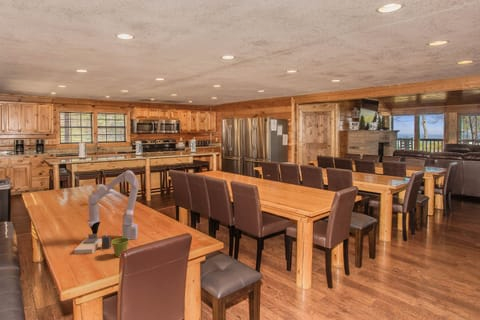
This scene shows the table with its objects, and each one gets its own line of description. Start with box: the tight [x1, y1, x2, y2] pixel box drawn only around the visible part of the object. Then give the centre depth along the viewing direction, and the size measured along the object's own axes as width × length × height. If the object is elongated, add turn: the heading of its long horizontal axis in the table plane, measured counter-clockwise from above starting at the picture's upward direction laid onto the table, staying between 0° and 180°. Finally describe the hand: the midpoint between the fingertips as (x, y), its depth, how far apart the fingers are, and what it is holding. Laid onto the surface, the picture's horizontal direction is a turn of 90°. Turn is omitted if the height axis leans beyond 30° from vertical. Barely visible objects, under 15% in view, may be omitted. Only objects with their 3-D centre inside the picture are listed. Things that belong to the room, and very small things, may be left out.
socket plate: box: [73, 237, 102, 255], centre depth 188 cm, size 10×18×2 cm, turn 6°
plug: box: [101, 233, 112, 250], centre depth 187 cm, size 4×4×8 cm
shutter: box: [82, 233, 99, 243], centre depth 191 cm, size 6×7×3 cm
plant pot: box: [111, 237, 130, 258], centre depth 177 cm, size 9×9×9 cm
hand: (95, 234), depth 198 cm, fingers closed
